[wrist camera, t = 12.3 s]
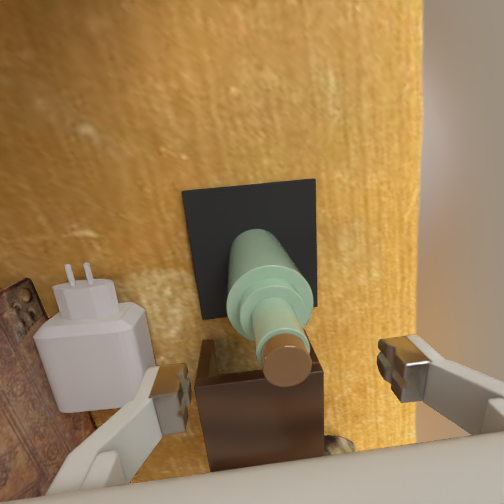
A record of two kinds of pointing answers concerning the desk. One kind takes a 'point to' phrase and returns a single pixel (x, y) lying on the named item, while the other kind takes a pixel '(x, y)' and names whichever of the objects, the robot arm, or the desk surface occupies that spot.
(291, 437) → the shelf
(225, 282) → the mat
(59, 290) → the charger
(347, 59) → the desk surface
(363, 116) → the desk surface
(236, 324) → the bottle
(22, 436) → the book
